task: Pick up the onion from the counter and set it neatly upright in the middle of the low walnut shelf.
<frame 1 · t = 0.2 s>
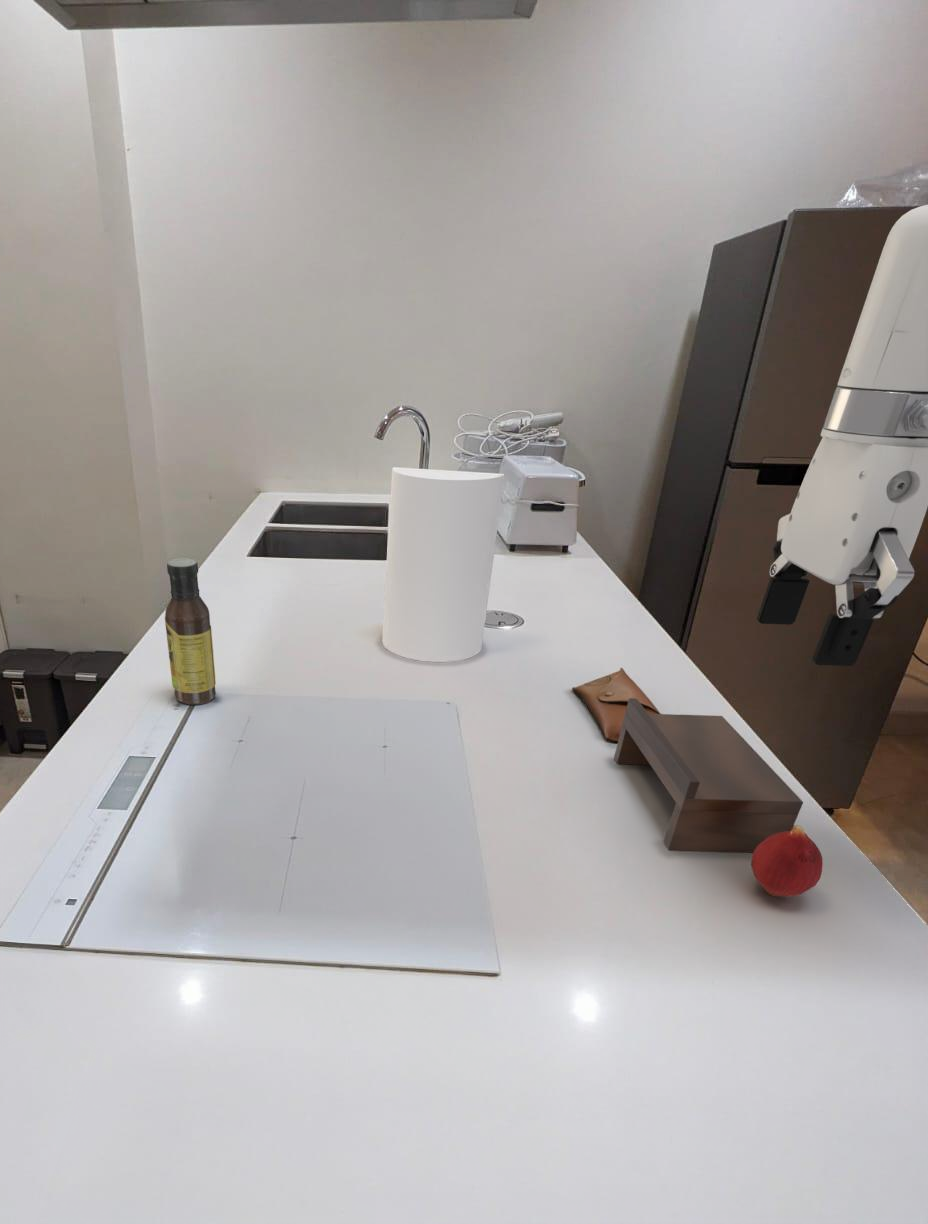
hand: (801, 642, 64), 24 cm above the counter, tool pointing down, fingers open, 9 cm apart
shelf: (689, 801, 88), on the counter
sauce bottle: (195, 698, 110), on the counter
sunglasses case: (614, 716, 108), on the counter
onion: (772, 895, 74), on the counter
cylinder: (431, 644, 131), on the counter
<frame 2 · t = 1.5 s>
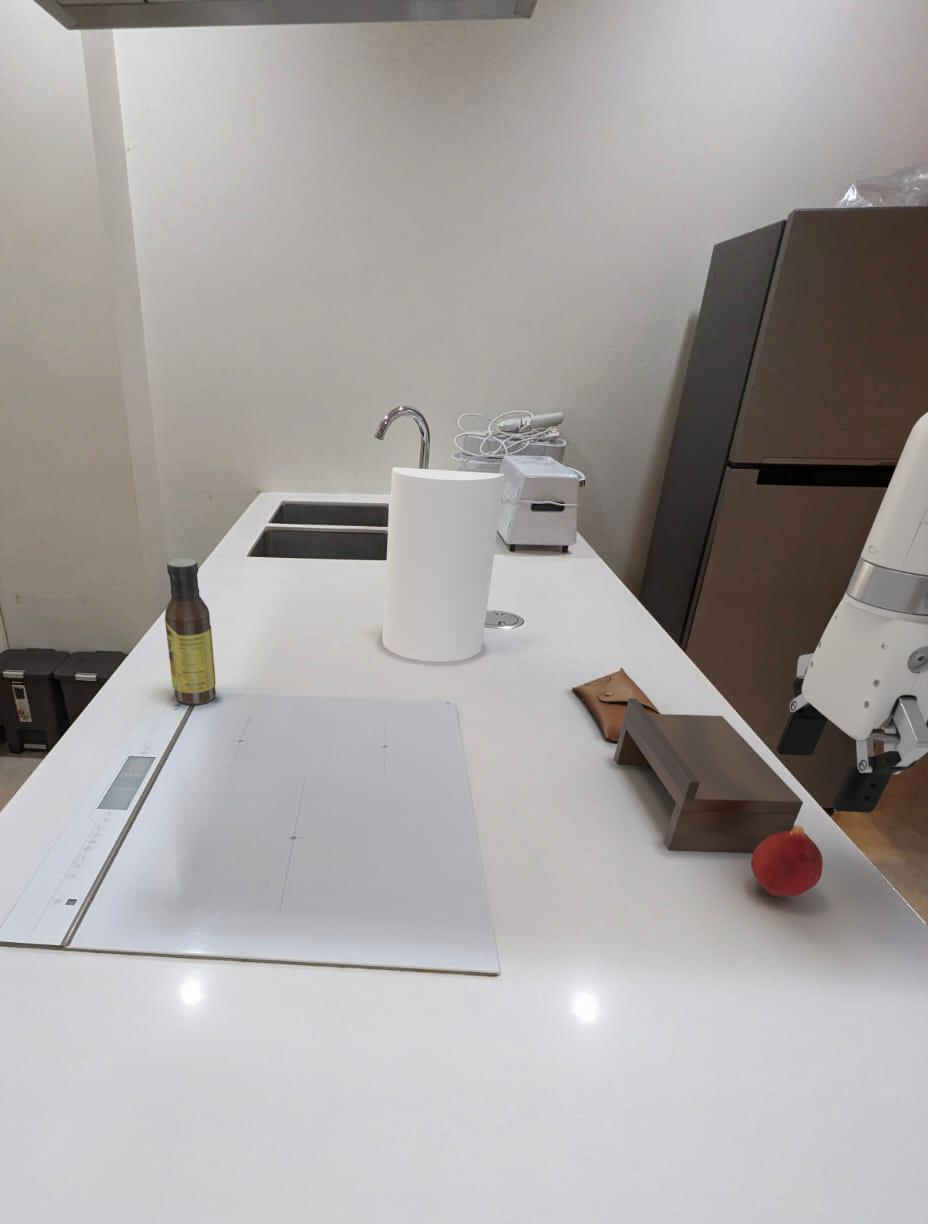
hand: (820, 780, 67), 13 cm above the counter, tool pointing down, fingers open, 9 cm apart
nothing on the counter moved.
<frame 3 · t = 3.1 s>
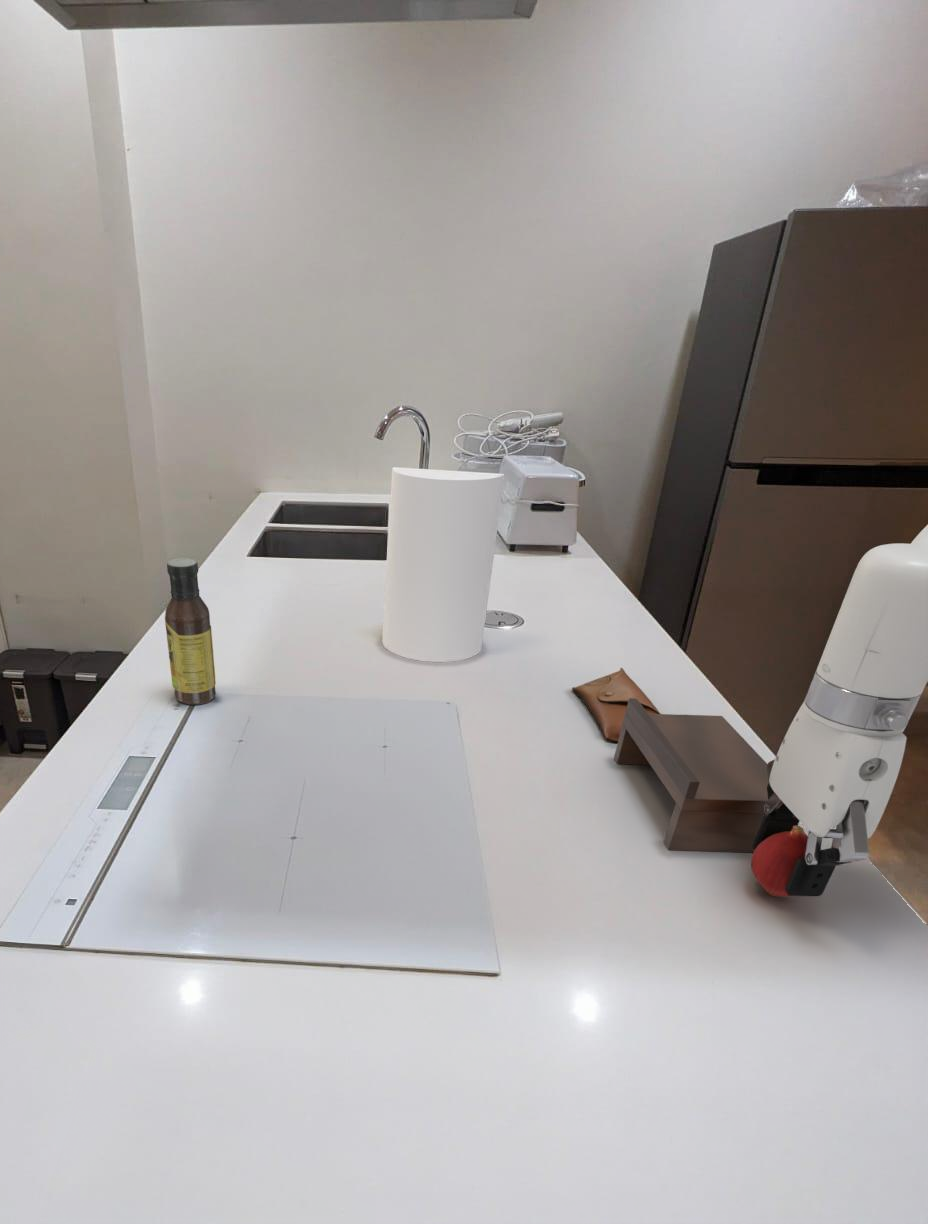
hand: (785, 870, 72), 3 cm above the counter, tool pointing down, fingers closed on onion, 5 cm apart
onion: (772, 896, 74), on the counter, touching gripper
everything else where it was.
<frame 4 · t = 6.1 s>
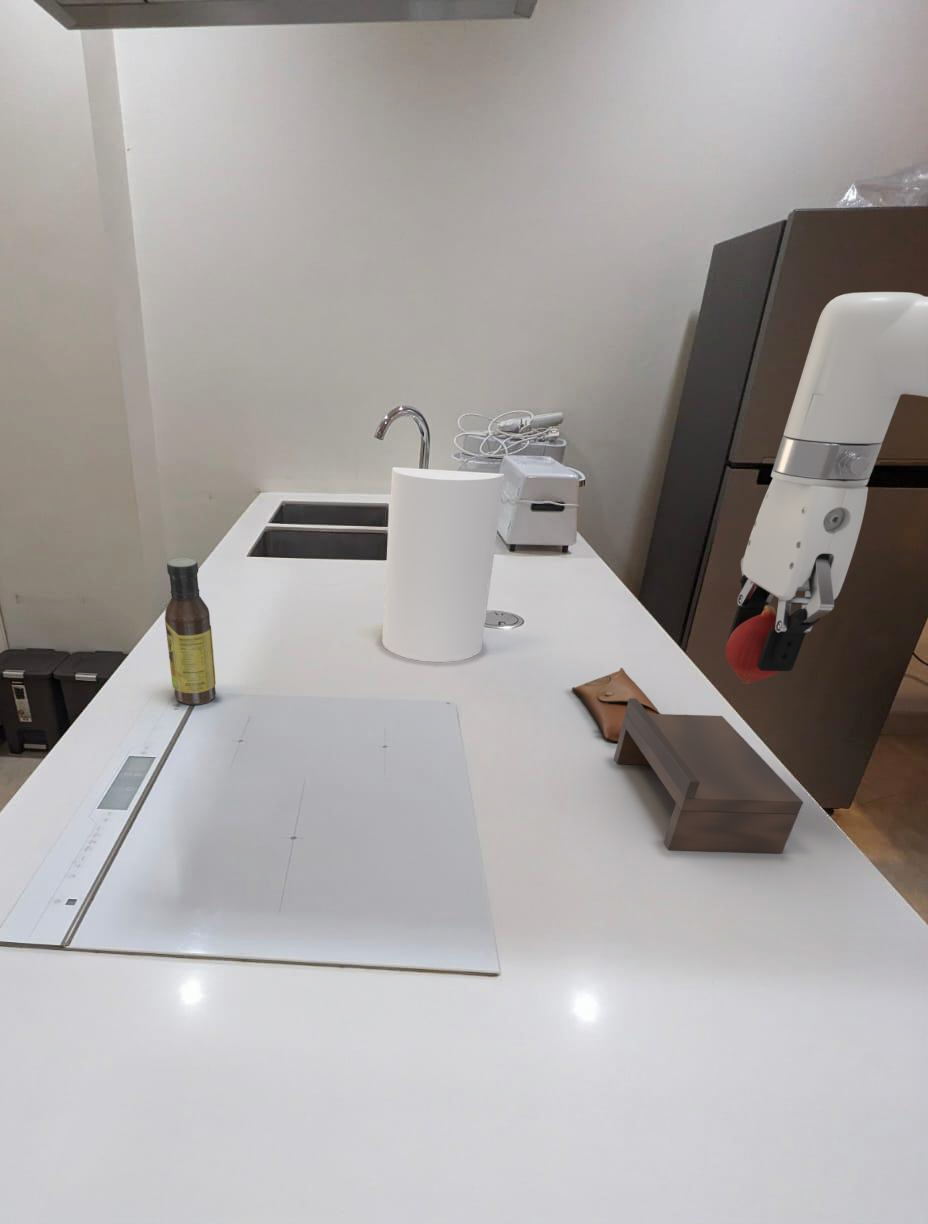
hand: (758, 655, 75), 19 cm above the counter, tool pointing down, fingers closed on onion, 5 cm apart
onion: (746, 684, 77), point 16 cm above the counter, touching gripper
everything else where it was.
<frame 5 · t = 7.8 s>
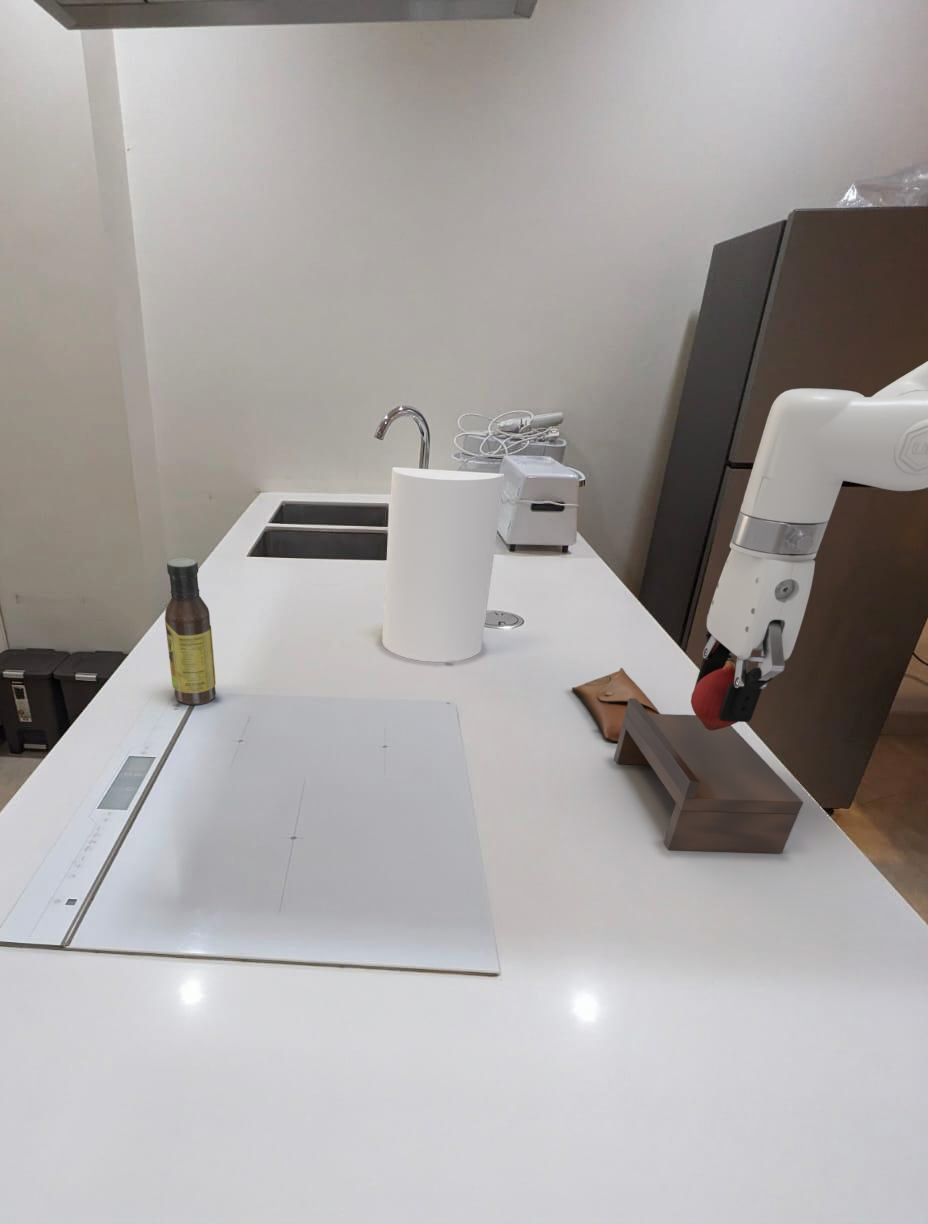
hand: (721, 705, 81), 12 cm above the counter, tool pointing down, fingers closed on onion, 5 cm apart
onion: (710, 731, 83), point 9 cm above the counter, touching gripper
everything else where it was.
when the fingers open (10 cm above the counter, at t = 9.1 s): onion stays where it is, resting on shelf.
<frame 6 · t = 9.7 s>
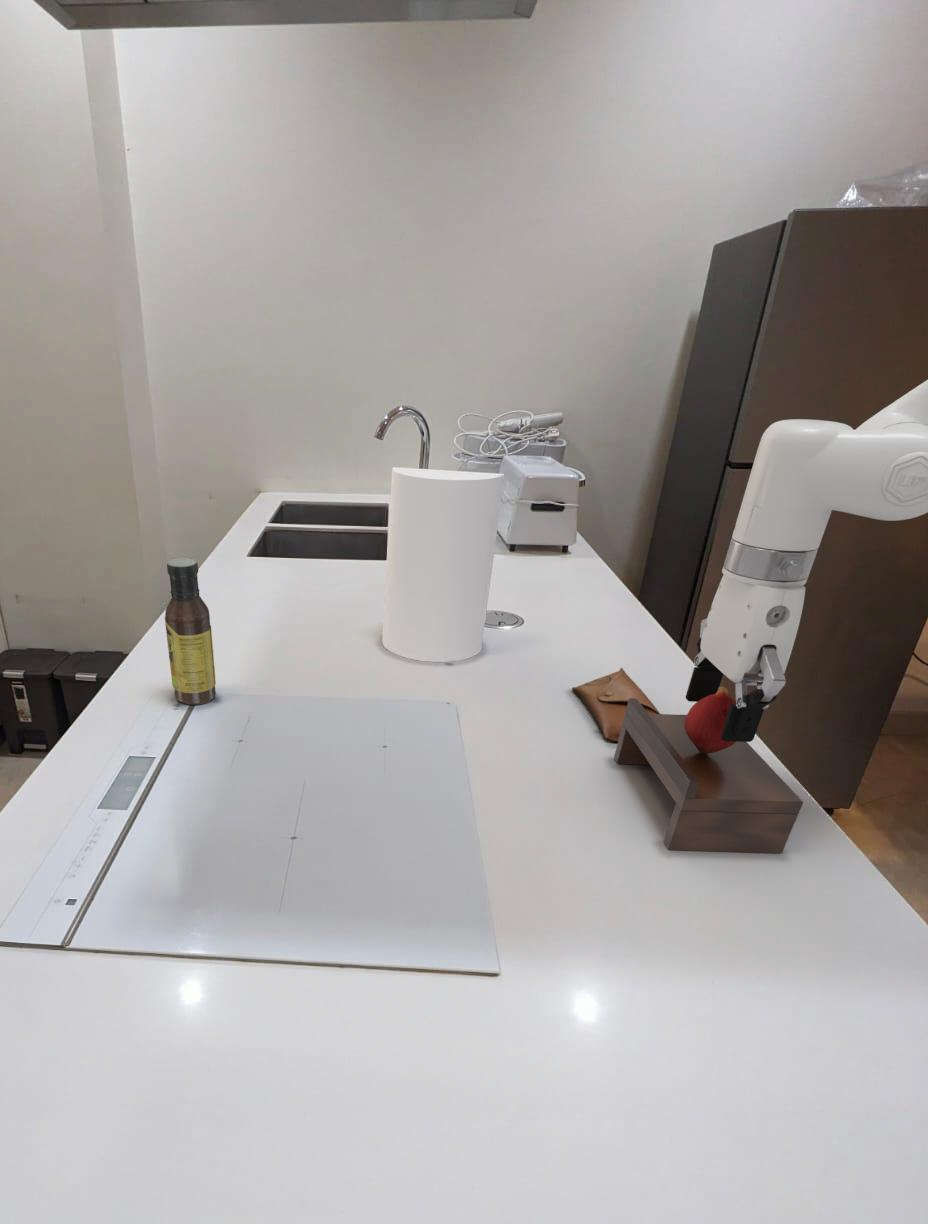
hand: (716, 719, 82), 11 cm above the counter, tool pointing down, fingers open, 9 cm apart
onion: (703, 754, 85), point 6 cm above the counter, touching shelf
everything else where it was.
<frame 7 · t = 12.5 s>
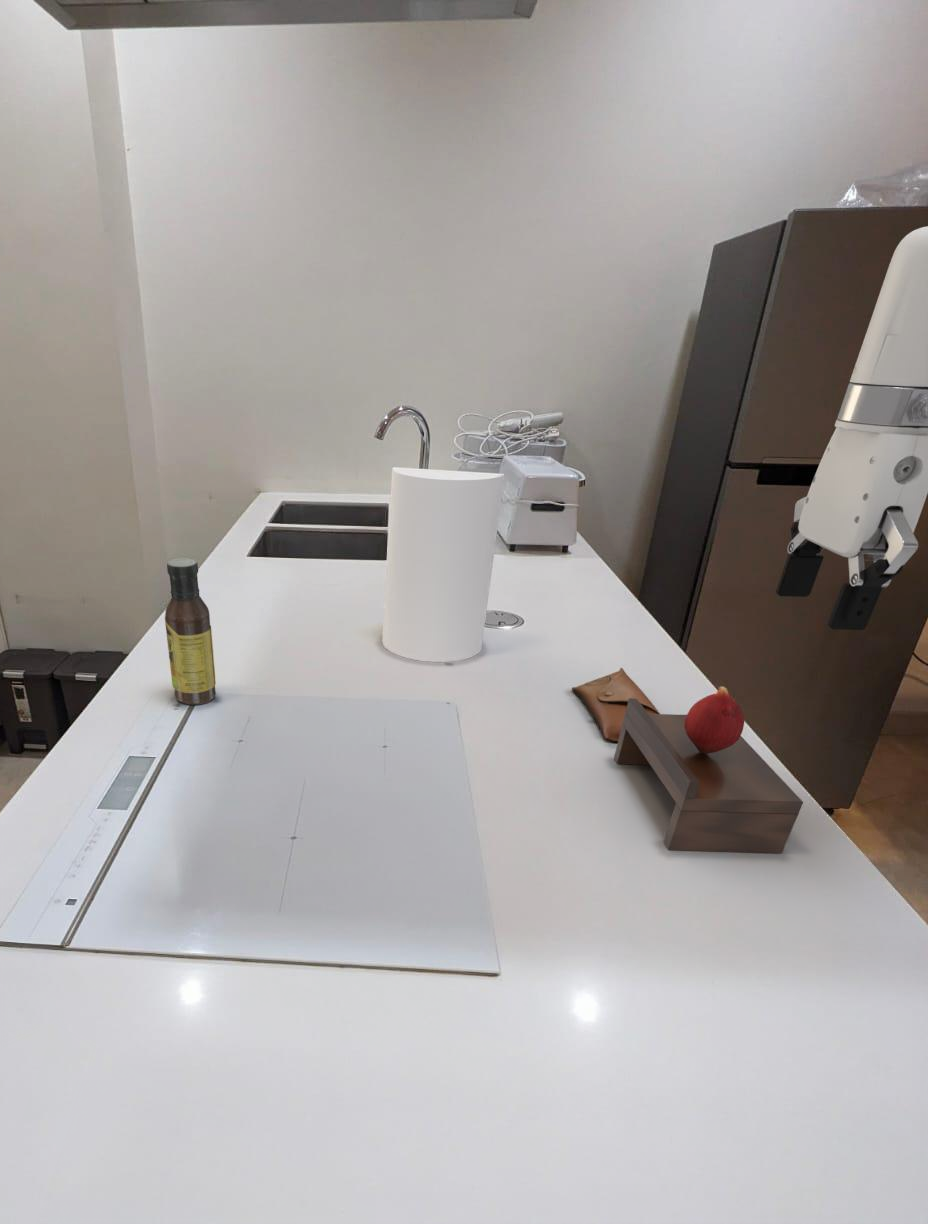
hand: (817, 611, 72), 24 cm above the counter, tool pointing down, fingers open, 9 cm apart
nothing on the counter moved.
at the end: onion inside the target area on the shelf (0.1 cm from its centre), point 6.3 cm above the shelf's base; onion tilted 0°; the gripper is holding nothing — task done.
